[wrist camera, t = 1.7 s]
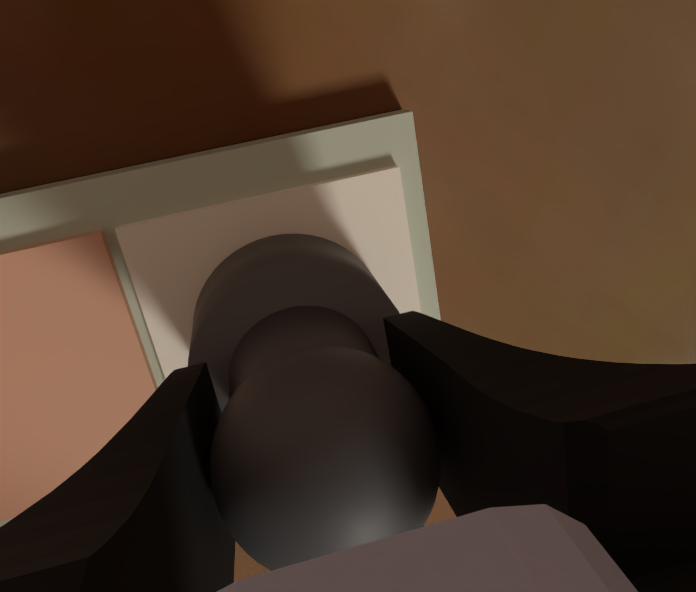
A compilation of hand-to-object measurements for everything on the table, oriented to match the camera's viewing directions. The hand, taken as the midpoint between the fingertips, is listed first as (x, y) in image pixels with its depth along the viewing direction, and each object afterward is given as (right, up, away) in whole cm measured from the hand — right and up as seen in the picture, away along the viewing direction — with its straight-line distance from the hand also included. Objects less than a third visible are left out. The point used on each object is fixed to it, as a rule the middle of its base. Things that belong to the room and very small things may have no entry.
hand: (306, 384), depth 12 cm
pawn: (-1, +1, +3) cm, 3 cm away
